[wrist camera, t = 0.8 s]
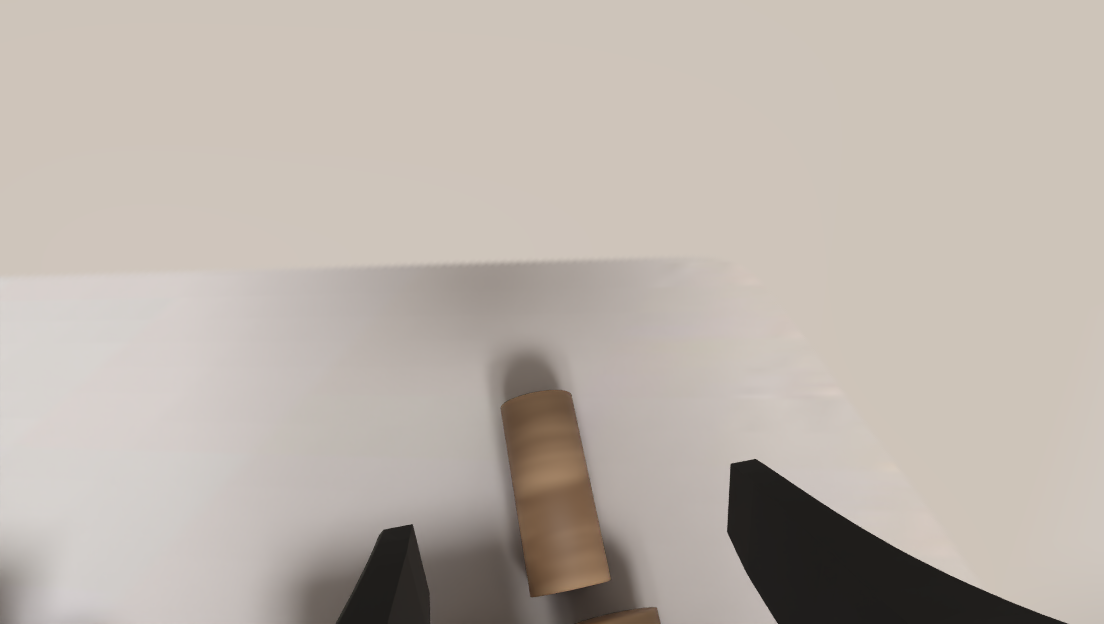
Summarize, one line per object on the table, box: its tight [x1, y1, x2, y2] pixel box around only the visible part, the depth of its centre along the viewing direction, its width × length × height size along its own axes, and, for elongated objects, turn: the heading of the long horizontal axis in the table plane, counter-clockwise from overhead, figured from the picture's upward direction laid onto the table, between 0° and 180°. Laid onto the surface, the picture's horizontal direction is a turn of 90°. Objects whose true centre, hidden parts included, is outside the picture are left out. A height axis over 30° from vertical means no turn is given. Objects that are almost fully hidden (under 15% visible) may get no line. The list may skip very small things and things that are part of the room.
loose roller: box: [501, 390, 611, 597], centre depth 28 cm, size 9×4×4 cm, turn 11°
